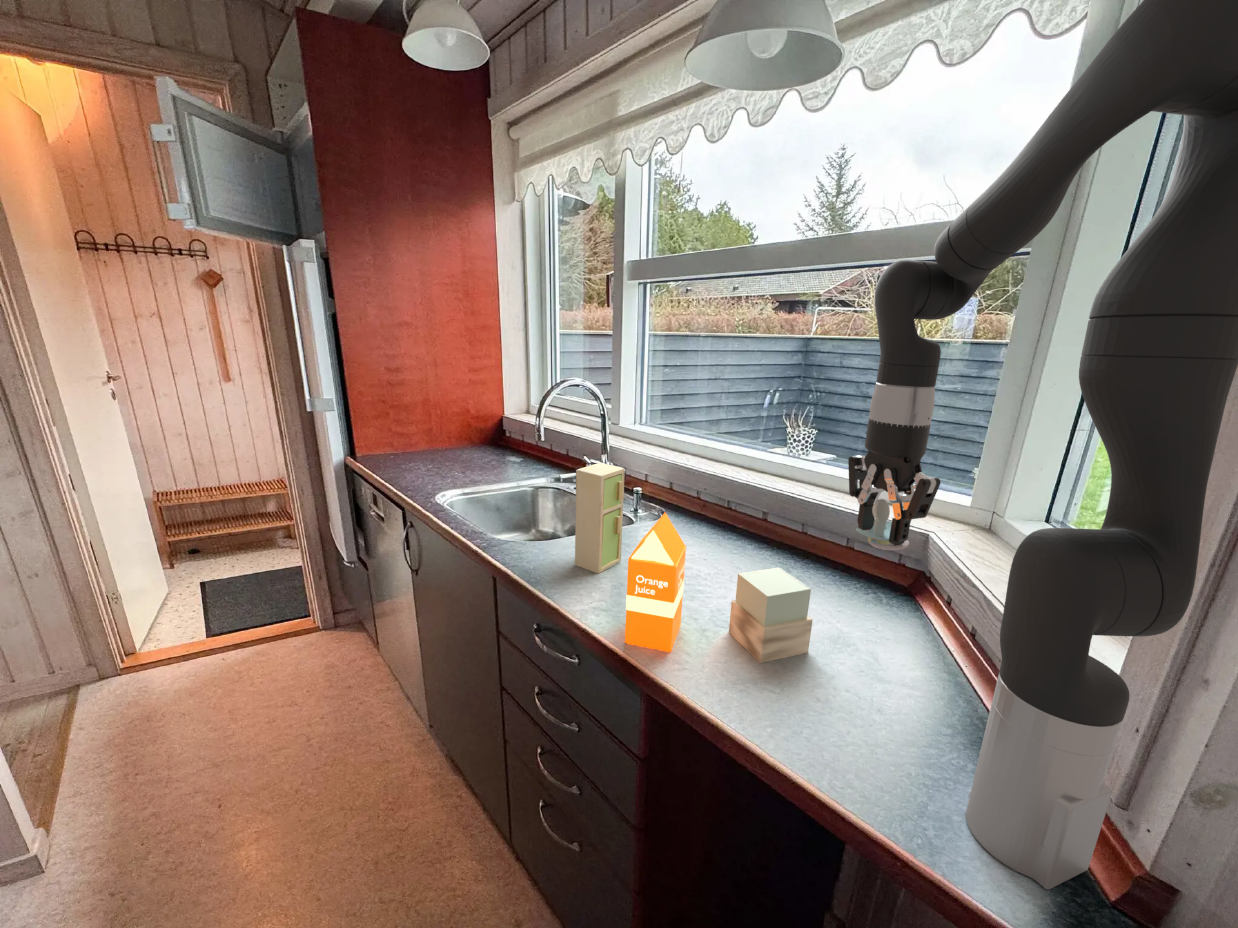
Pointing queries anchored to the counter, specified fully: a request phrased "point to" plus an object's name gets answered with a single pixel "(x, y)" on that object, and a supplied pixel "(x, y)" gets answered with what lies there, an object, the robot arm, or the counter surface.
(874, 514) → the pacifier
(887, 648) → the counter surface
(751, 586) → the sage block
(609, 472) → the toy refrigerator
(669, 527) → the orange juice
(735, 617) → the maple block
